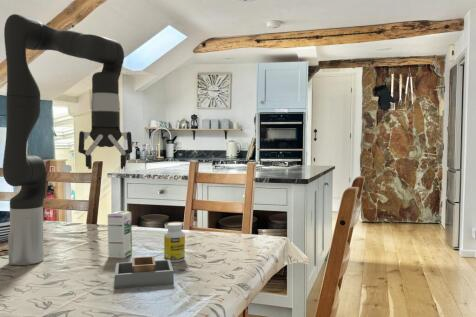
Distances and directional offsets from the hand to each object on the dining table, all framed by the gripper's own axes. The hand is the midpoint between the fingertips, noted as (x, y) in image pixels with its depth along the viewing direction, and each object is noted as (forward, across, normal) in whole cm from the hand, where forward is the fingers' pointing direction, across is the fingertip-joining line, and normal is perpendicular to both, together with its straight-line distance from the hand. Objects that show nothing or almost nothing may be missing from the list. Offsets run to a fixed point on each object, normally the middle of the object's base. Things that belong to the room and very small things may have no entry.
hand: (106, 168), depth 116 cm
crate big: (+30, +10, -6) cm, 32 cm away
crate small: (+30, +10, -6) cm, 32 cm away
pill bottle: (+30, +20, +11) cm, 38 cm away
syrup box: (+30, +3, +20) cm, 36 cm away
